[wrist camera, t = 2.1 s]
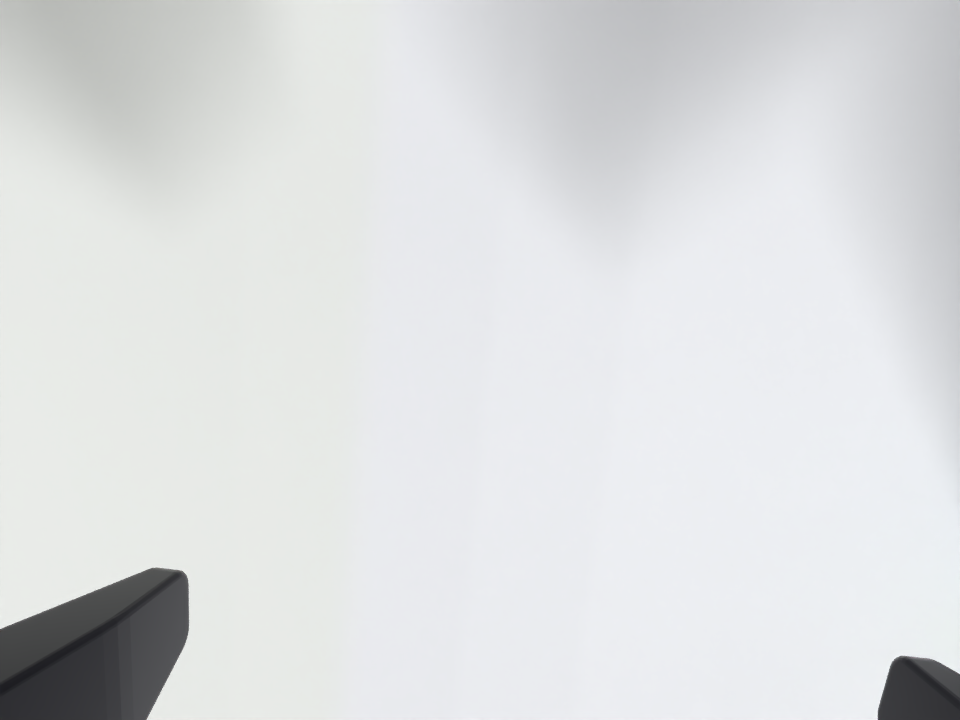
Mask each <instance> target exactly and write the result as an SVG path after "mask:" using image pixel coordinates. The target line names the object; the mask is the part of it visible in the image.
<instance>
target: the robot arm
mask: <svg viewBox="0 0 960 720" xmlns="http://www.w3.org/2000/svg"><path fill="white" fill-rule="evenodd" d="M188 631H189V589H188V578H187V575H186V574H185V573H184V572H183V571H180V570H172V569H164V568H151V569H148V570H146V571H143V572H141V573H138V574H136V575H133V576H131V577H128V578H126V579H123V580H121V581H118V582H116V583H113V584H111V585H108V586H106V587H104V588H101V589H99V590H96V591H94V592H91V593H89V594H86V595H84V596H81V597H79V598H76V599H74V600H71V601H69V602H66V603H64V604H61V605H59V606H56V607H54V608H51V609H49V610H47V611H44V612H42V613H39V614H37V615H34V616H32V617H29V618H27V619H24V620H22V621H19V622H17V623H14V624H12V625H9V626H7V627H4V628H2V629H0V720H146V719H147V718H148V716H149V714H150V712H151V710H152V708H153V706H154V704H155V702H156V700H157V698H158V696H159V694H160V692H161V690H162V688H163V686H164V685H165V683H166V681H167V679H168V677H169V675H170V673H171V671H172V669H173V667H174V665H175V663H176V661H177V659H178V657H179V655H180V653H181V652H182V650H183V648H184V645H185V643H186V640H187V636H188ZM878 720H960V674H959V673H957V672H955V671H953V670H951V669H950V668H948V667H946V666H944V665H943V664H941V663H939V662H937V661H935V660H932V659H927V658H918V657H909V656H900V657H897V658H895V659H894V661H893V662H892V664H891V666H890V669H889V673H888V676H887V680H886V683H885V687H884V690H883V694H882V698H881V701H880V705H879V708H878Z"/></svg>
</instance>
